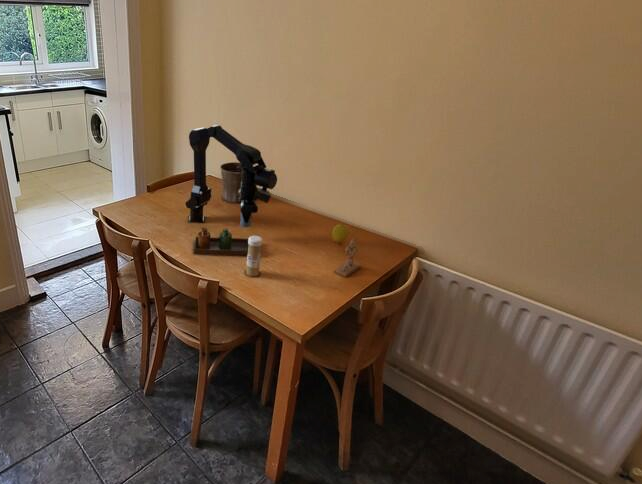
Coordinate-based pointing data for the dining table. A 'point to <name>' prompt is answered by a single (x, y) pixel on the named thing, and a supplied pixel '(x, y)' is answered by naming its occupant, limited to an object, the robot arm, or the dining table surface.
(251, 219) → the blue bottle
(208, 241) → the amber bottle
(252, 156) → the robot arm
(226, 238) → the green bottle
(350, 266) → the grey statuette
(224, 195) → the plant pot
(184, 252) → the dining table surface
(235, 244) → the tray
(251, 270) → the sprinkles bottle
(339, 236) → the lemon
